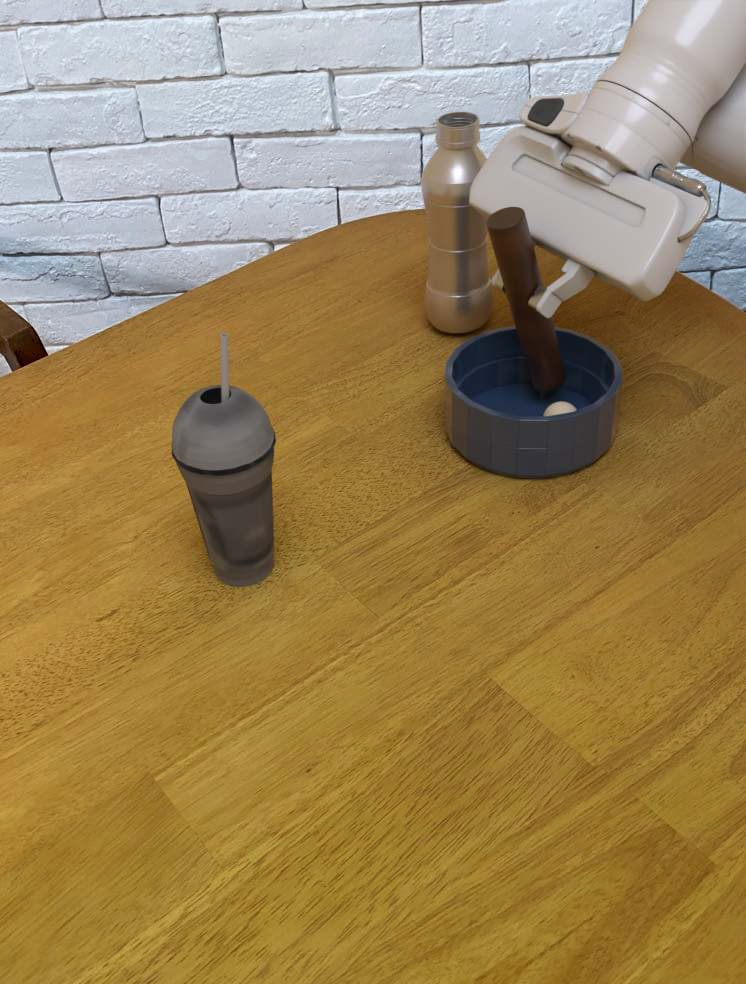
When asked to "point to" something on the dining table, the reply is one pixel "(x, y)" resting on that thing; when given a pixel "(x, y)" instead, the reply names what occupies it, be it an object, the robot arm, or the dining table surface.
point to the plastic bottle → (456, 229)
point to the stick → (526, 296)
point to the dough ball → (559, 408)
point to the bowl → (530, 405)
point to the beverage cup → (229, 476)
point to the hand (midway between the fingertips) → (518, 301)
